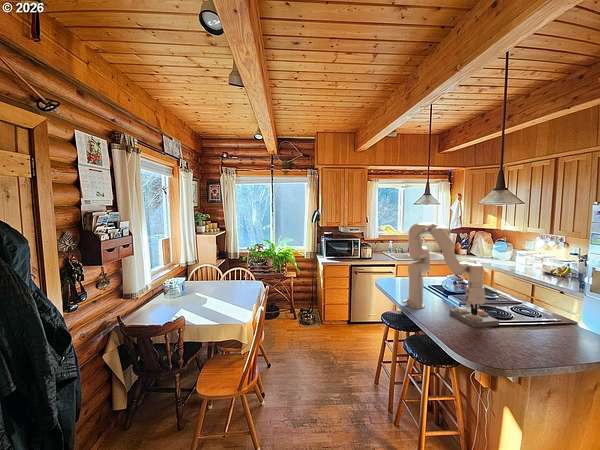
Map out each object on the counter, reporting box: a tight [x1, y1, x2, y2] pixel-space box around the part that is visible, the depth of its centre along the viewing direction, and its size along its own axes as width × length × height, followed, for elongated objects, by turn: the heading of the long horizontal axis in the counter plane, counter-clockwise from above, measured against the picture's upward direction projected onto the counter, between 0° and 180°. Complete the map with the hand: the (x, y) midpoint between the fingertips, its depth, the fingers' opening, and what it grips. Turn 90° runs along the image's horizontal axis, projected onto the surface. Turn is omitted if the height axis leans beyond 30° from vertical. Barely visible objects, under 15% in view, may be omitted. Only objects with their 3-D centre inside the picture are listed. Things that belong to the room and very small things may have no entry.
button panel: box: [449, 307, 500, 328], centre depth 169 cm, size 17×20×4 cm
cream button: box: [457, 306, 467, 312], centre depth 173 cm, size 4×4×2 cm
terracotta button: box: [477, 308, 485, 314], centre depth 170 cm, size 4×4×2 cm
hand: (474, 314), depth 163 cm, fingers closed
